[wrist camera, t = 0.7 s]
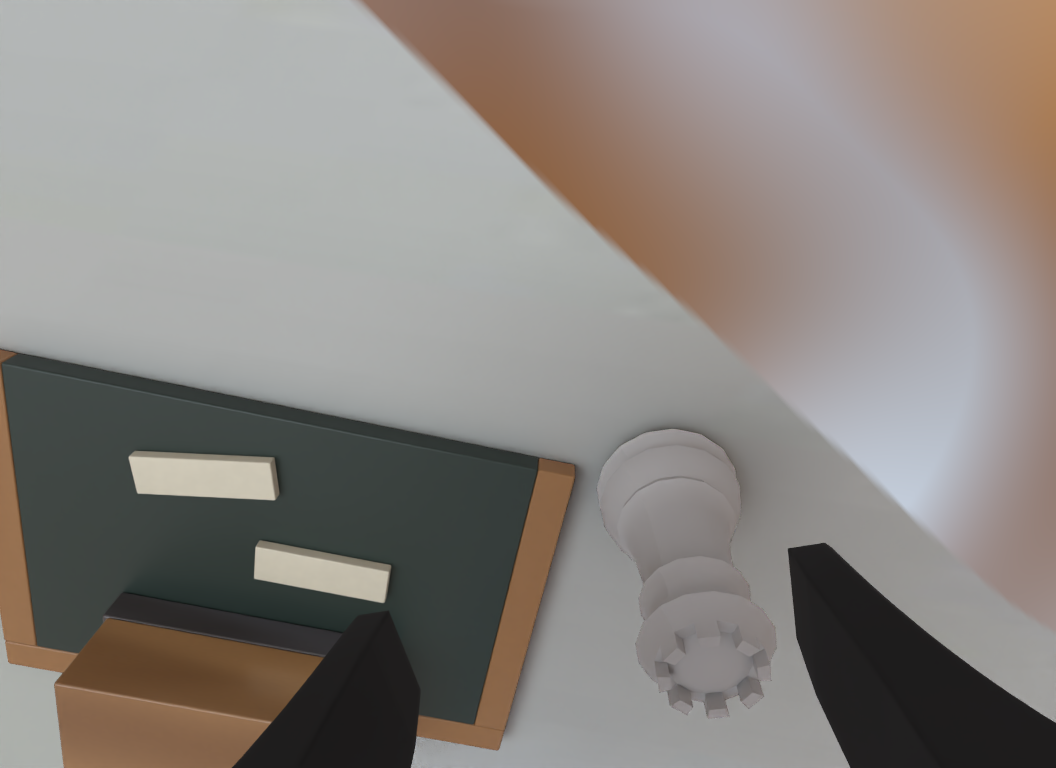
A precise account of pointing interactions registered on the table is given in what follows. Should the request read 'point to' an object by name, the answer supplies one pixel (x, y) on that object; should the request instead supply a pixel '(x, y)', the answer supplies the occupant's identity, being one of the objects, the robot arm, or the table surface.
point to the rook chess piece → (687, 569)
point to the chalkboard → (271, 528)
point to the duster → (180, 685)
